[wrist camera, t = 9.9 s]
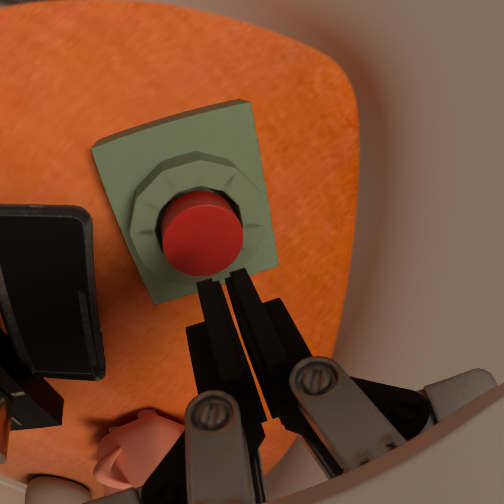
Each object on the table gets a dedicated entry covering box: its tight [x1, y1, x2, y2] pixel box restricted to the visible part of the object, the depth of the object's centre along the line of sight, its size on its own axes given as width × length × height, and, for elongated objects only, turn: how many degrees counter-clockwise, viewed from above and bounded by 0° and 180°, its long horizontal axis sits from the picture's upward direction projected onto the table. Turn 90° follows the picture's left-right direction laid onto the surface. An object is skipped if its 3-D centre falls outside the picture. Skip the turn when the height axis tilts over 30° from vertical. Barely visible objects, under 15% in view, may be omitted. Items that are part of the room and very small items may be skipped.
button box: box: [91, 99, 279, 305], centre depth 17 cm, size 10×8×4 cm
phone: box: [0, 204, 106, 381], centre depth 19 cm, size 8×1×15 cm
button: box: [161, 191, 243, 277], centre depth 15 cm, size 4×4×2 cm
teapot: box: [94, 410, 185, 496], centre depth 25 cm, size 14×12×10 cm
